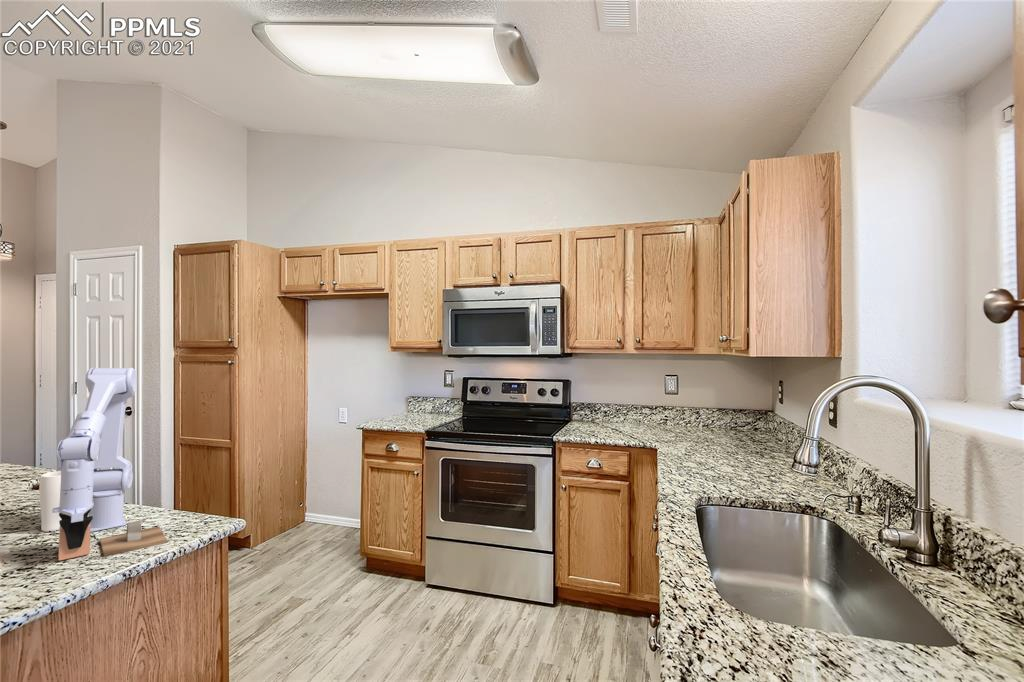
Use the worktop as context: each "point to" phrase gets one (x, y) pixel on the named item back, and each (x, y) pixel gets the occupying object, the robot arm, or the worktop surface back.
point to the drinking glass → (50, 500)
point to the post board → (132, 545)
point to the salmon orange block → (83, 550)
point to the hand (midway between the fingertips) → (74, 544)
